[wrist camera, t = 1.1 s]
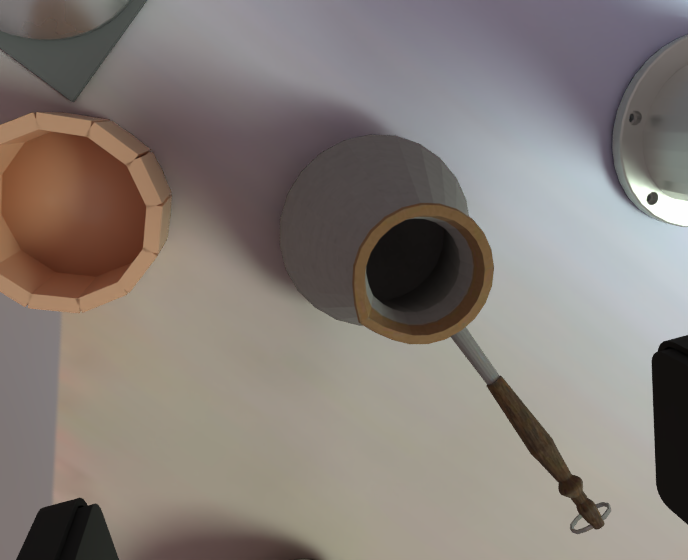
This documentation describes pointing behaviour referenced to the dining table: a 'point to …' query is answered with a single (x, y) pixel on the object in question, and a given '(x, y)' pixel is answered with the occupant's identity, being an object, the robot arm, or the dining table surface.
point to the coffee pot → (404, 265)
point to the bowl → (77, 211)
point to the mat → (70, 53)
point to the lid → (57, 17)
